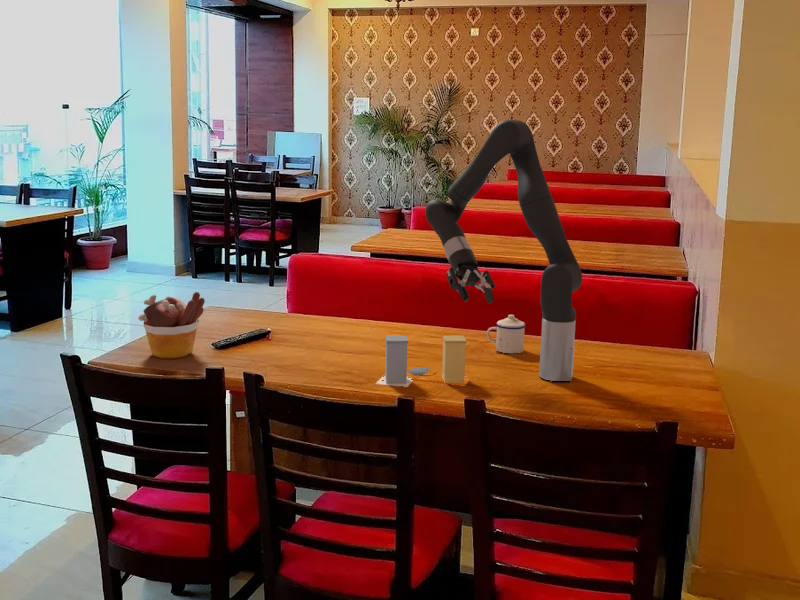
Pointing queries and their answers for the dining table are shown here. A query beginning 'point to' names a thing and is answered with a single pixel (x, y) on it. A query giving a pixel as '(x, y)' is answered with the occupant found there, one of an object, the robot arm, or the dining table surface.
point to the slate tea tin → (396, 359)
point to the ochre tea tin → (453, 359)
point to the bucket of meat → (171, 325)
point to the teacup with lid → (509, 335)
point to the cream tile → (394, 384)
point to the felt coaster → (419, 371)
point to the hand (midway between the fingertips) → (479, 300)
